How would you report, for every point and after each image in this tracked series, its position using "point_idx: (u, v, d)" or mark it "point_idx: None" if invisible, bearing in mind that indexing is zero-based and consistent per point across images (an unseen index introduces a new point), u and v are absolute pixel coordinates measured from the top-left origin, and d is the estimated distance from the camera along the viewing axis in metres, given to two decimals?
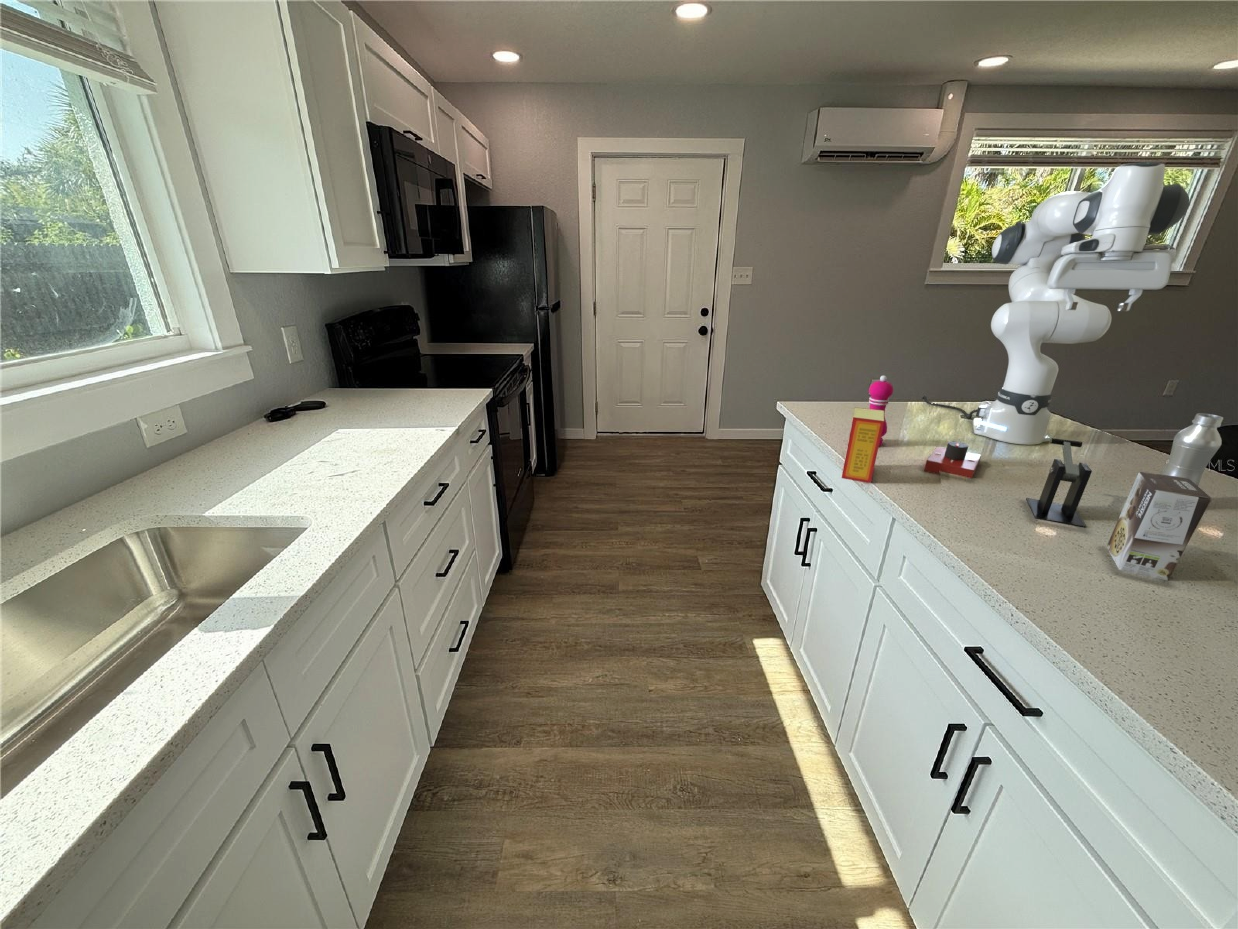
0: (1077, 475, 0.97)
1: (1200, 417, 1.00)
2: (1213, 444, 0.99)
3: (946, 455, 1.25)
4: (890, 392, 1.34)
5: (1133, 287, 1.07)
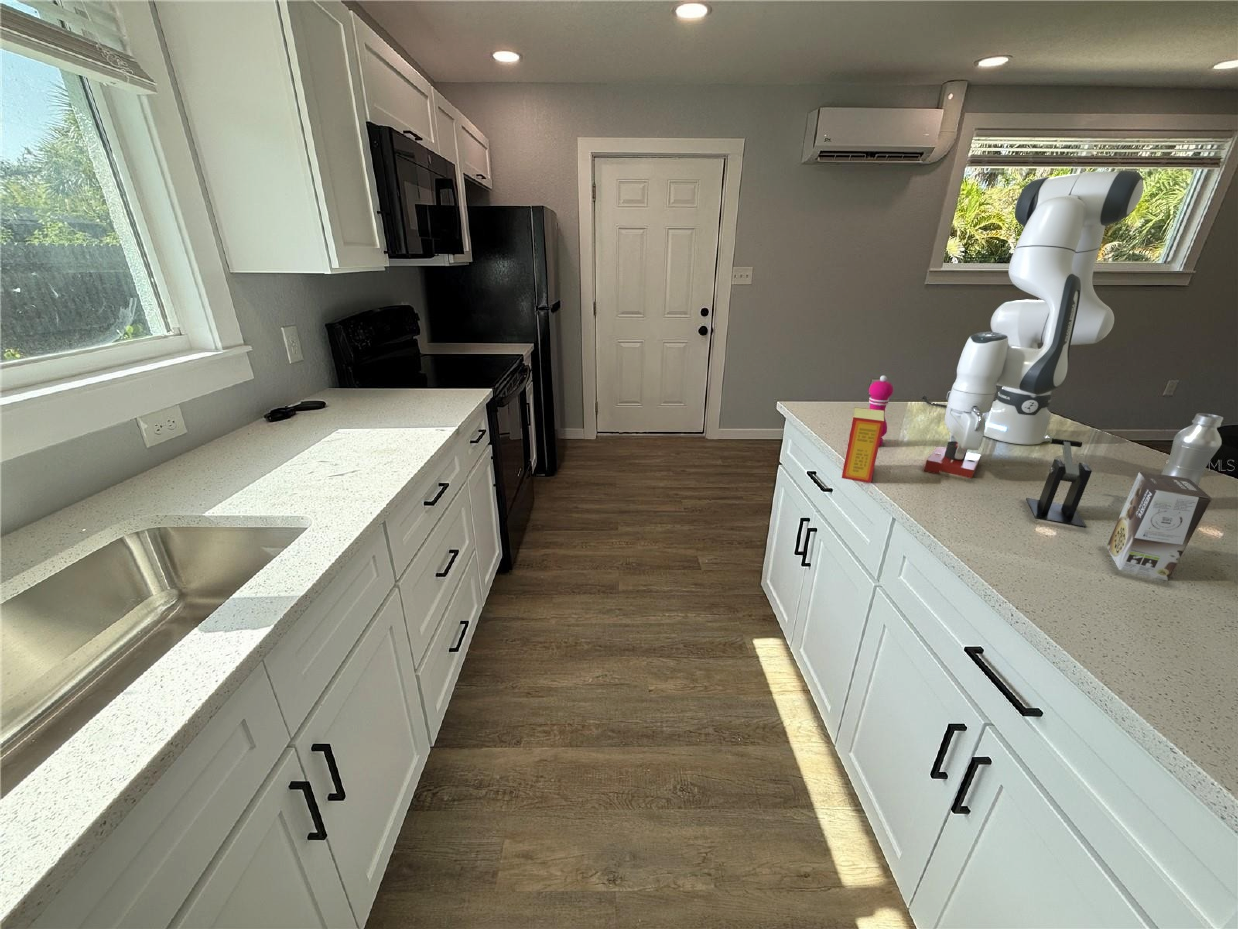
0: (1077, 475, 0.97)
1: (1200, 417, 1.00)
2: (1213, 444, 0.99)
3: (946, 455, 1.25)
4: (890, 392, 1.34)
5: (956, 441, 1.19)
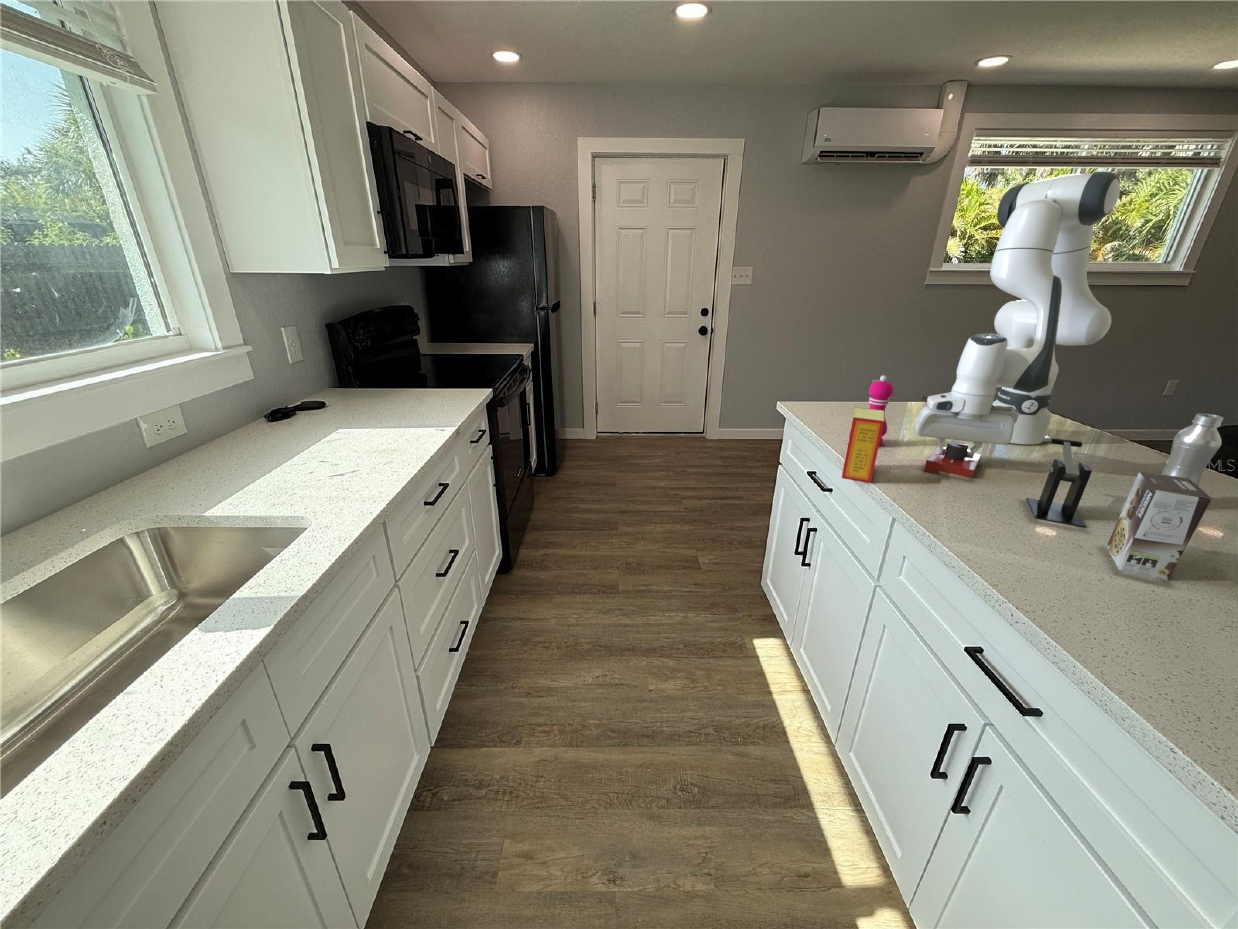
0: (1077, 475, 0.97)
1: (1200, 417, 1.00)
2: (1213, 444, 0.99)
3: (959, 458, 1.23)
4: (890, 392, 1.34)
5: (983, 442, 1.20)
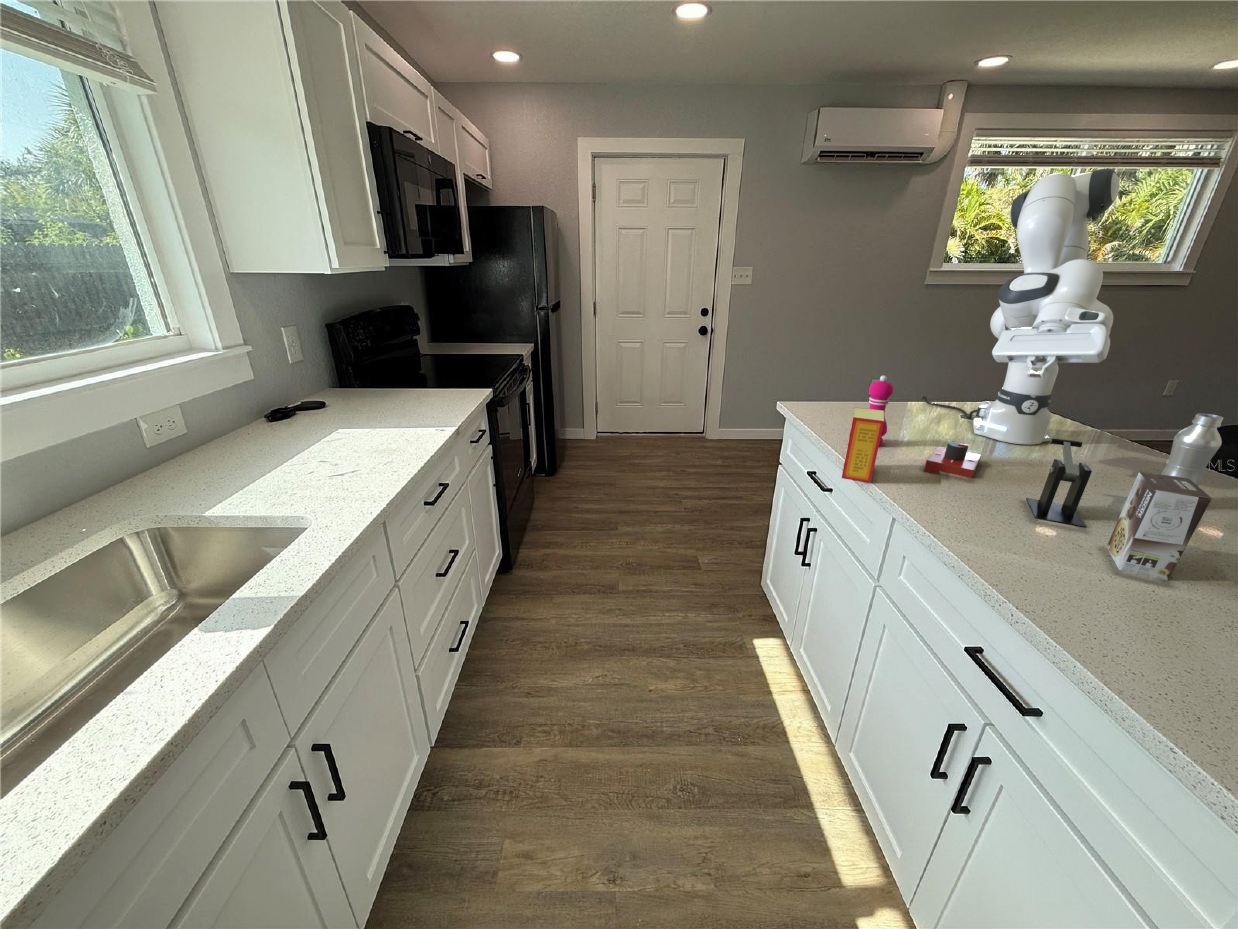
0: (1077, 475, 0.97)
1: (1200, 417, 1.00)
2: (1213, 444, 0.99)
3: (960, 458, 1.23)
4: (890, 392, 1.34)
5: None
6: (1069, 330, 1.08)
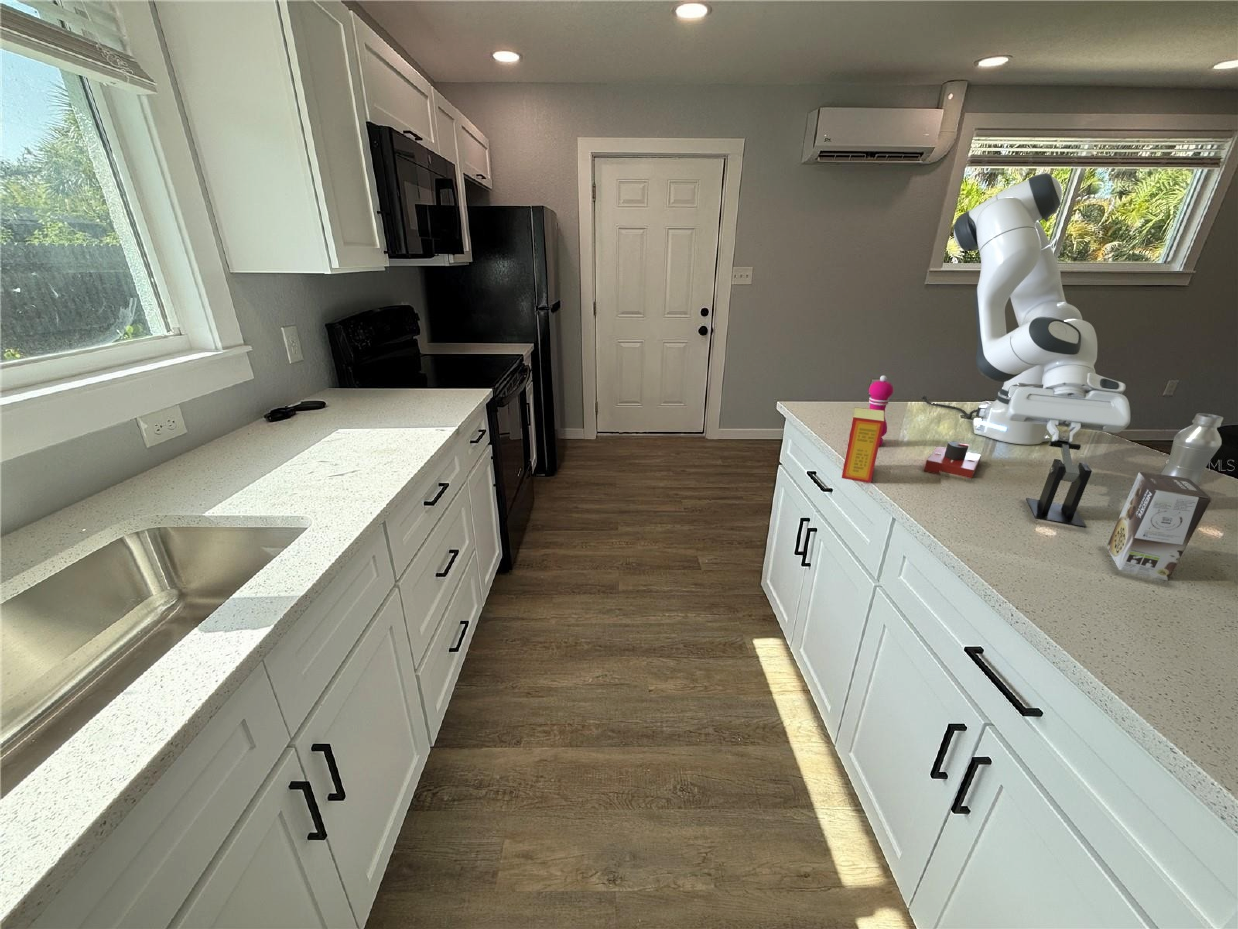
0: (1077, 474, 0.97)
1: (1200, 417, 1.00)
2: (1213, 444, 0.99)
3: (960, 458, 1.23)
4: (890, 392, 1.34)
5: None
6: (1089, 396, 1.04)
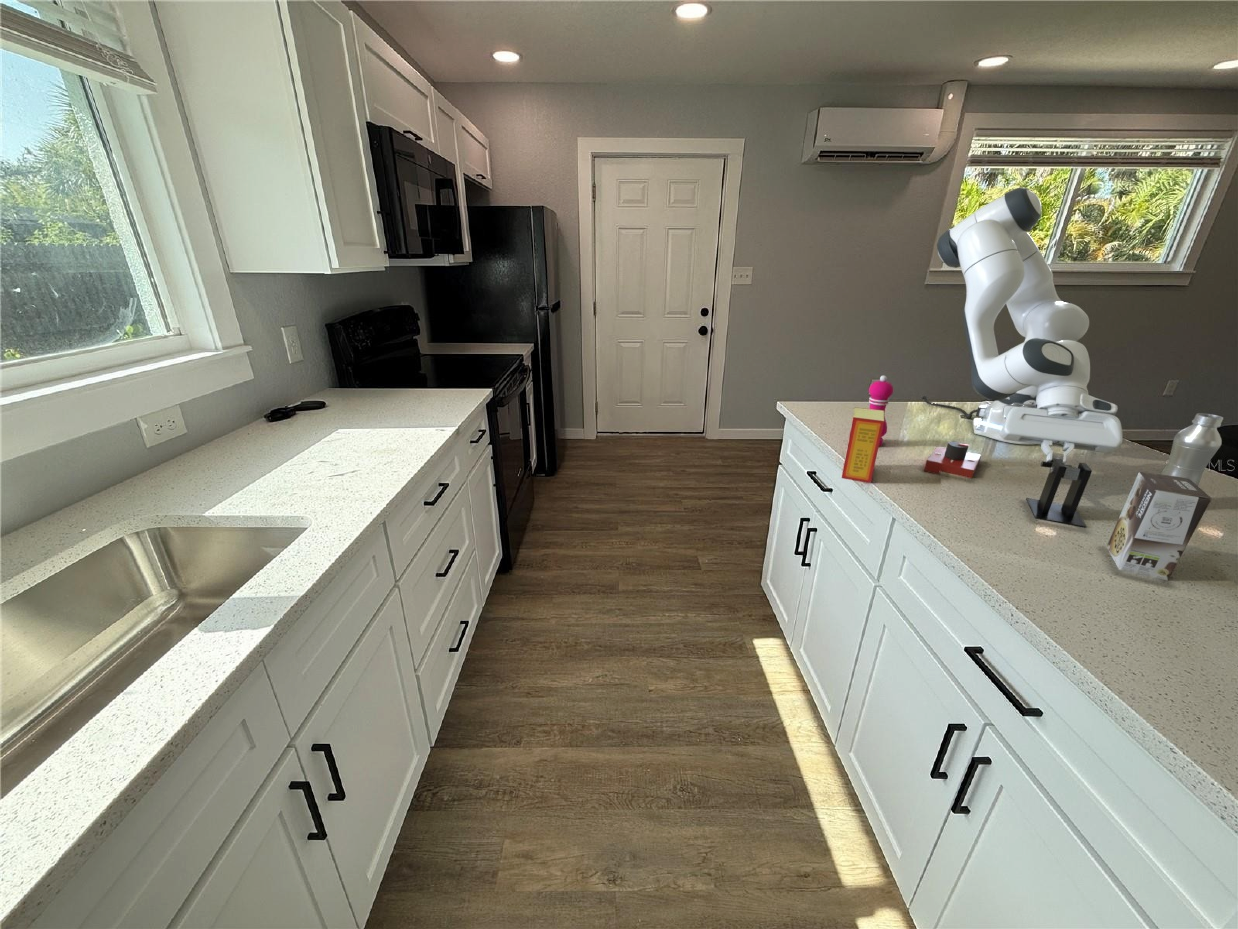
0: (1078, 470, 0.97)
1: (1200, 417, 1.00)
2: (1213, 444, 0.99)
3: (960, 458, 1.23)
4: (890, 392, 1.34)
5: None
6: (1082, 417, 1.06)
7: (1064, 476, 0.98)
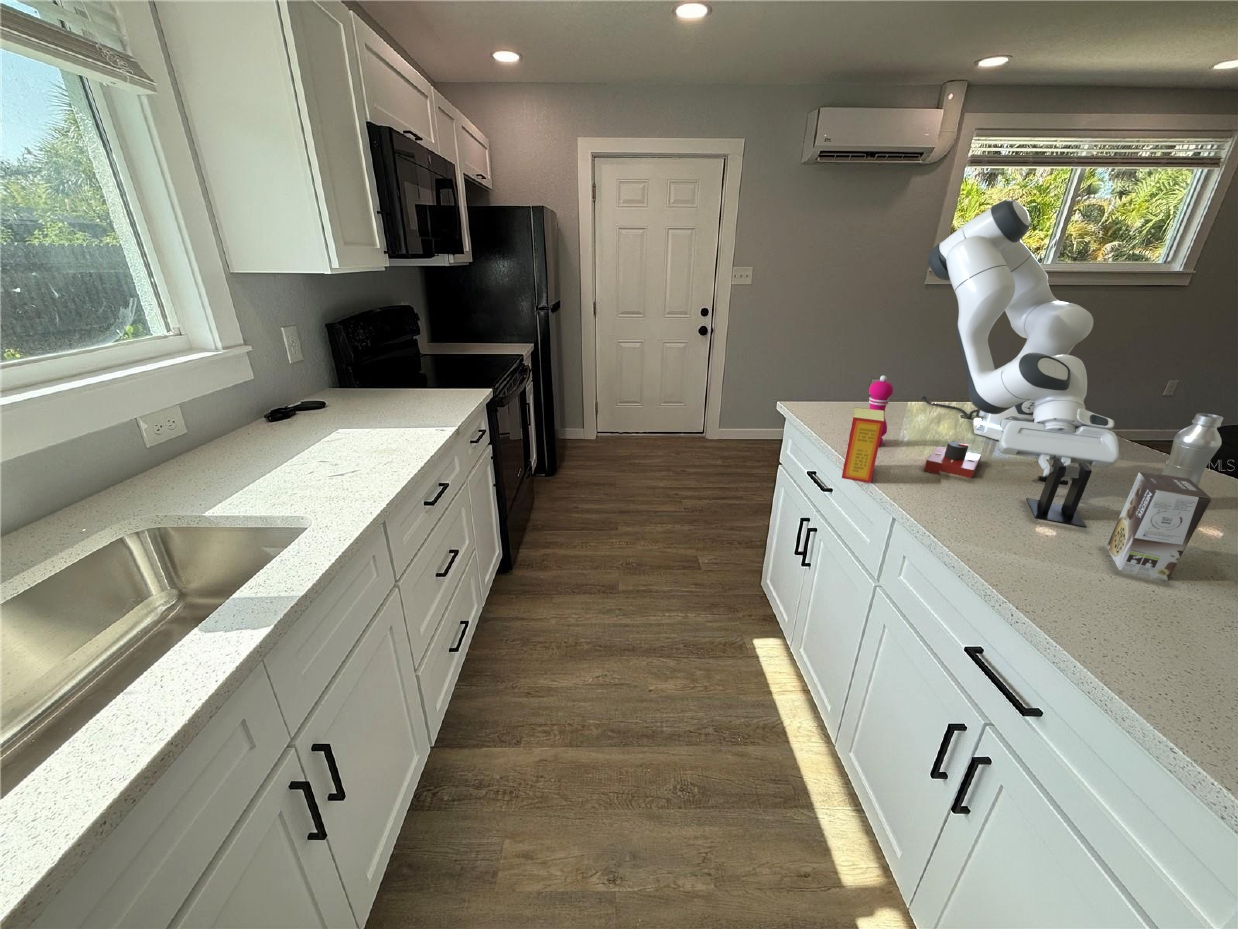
0: (1078, 467, 0.97)
1: (1200, 417, 1.00)
2: (1213, 444, 0.99)
3: (960, 458, 1.23)
4: (890, 392, 1.34)
5: None
6: (1079, 432, 1.06)
7: (1065, 474, 0.98)
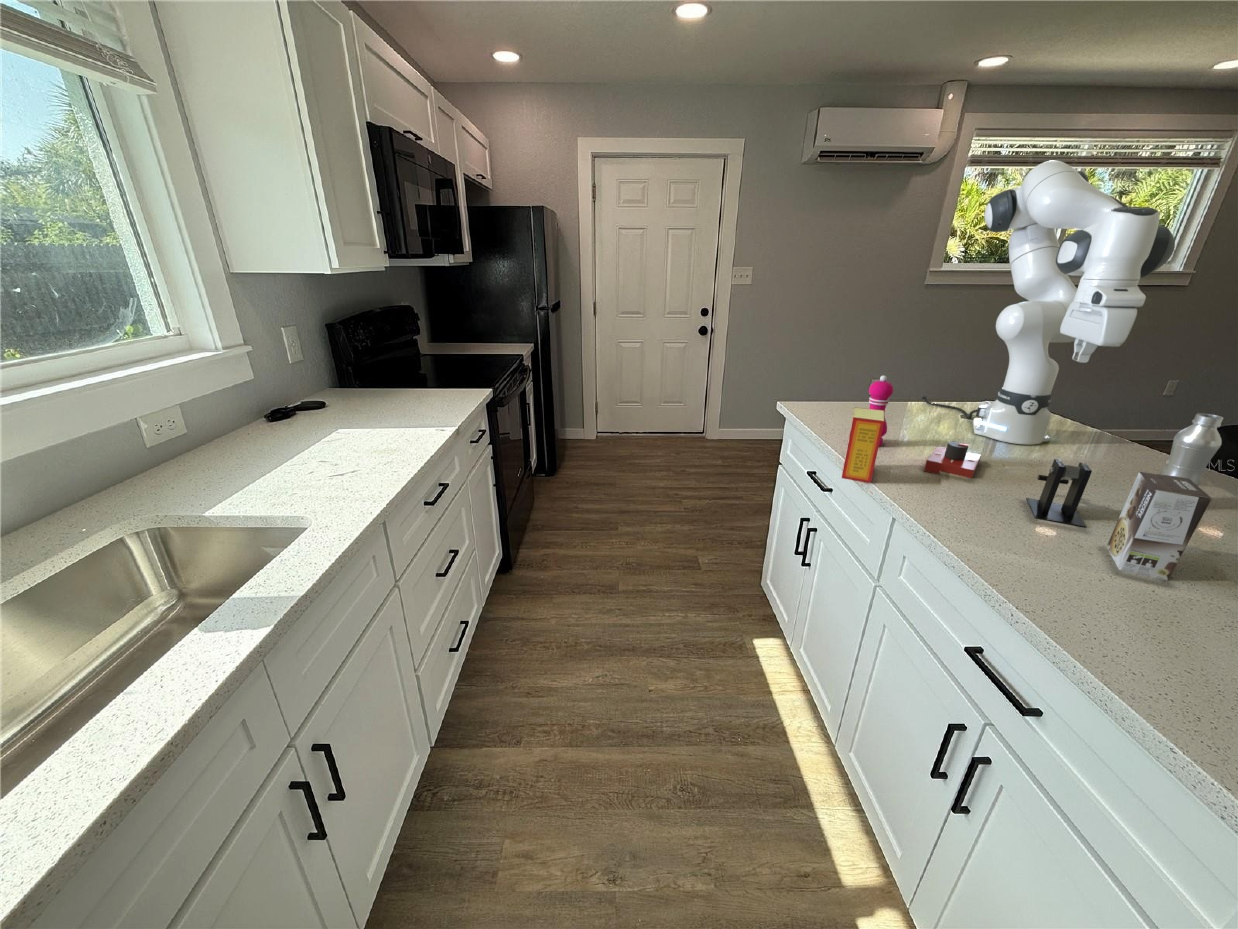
0: (1078, 468, 0.97)
1: (1200, 417, 1.00)
2: (1213, 444, 0.99)
3: (960, 458, 1.23)
4: (890, 392, 1.34)
5: None
6: (1093, 311, 1.00)
7: (1065, 474, 0.98)
